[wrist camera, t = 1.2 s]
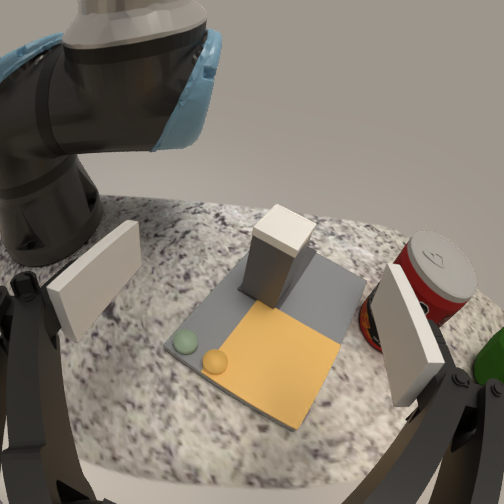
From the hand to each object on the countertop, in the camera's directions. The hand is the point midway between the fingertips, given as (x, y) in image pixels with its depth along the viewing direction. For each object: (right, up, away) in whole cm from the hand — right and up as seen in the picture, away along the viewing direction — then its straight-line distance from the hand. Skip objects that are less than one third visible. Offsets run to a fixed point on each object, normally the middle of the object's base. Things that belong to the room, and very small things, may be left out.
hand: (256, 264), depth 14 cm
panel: (+2, -6, +13) cm, 14 cm away
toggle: (+1, -3, +13) cm, 14 cm away
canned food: (+15, -8, +14) cm, 22 cm away
